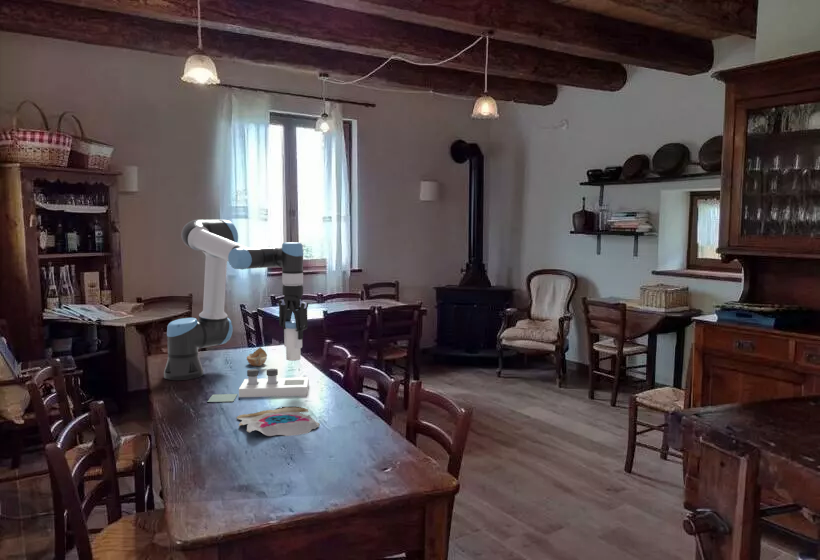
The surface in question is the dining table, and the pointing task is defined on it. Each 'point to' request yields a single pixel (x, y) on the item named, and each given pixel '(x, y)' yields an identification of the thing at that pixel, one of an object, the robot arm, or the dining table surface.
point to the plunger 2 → (272, 376)
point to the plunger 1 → (252, 376)
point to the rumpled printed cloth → (279, 421)
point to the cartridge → (291, 342)
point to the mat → (223, 398)
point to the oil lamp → (257, 357)
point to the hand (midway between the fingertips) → (293, 346)
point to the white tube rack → (275, 387)
